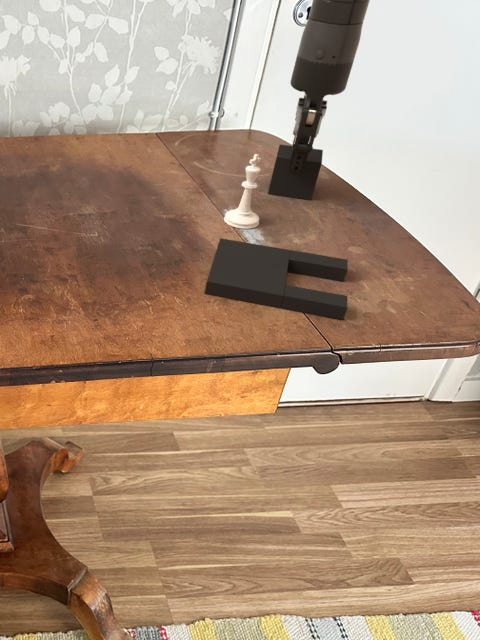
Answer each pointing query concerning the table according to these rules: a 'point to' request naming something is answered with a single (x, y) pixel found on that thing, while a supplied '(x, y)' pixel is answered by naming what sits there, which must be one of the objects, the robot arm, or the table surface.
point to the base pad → (275, 277)
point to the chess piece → (245, 200)
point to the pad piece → (295, 184)
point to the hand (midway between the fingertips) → (295, 164)
